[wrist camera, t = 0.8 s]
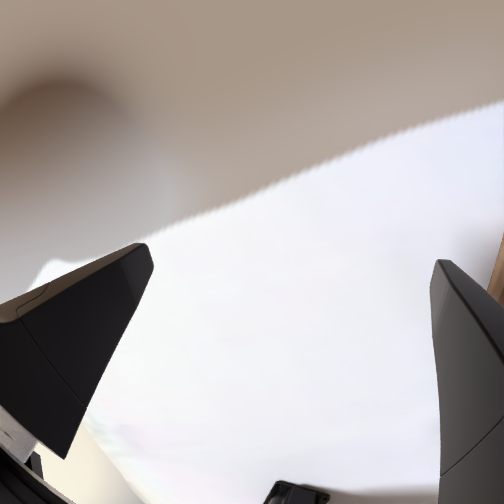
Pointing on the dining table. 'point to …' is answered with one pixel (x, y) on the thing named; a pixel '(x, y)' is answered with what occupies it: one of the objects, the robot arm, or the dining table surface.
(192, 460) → the dining table surface
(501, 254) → the brown wooden frame
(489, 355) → the robot arm
